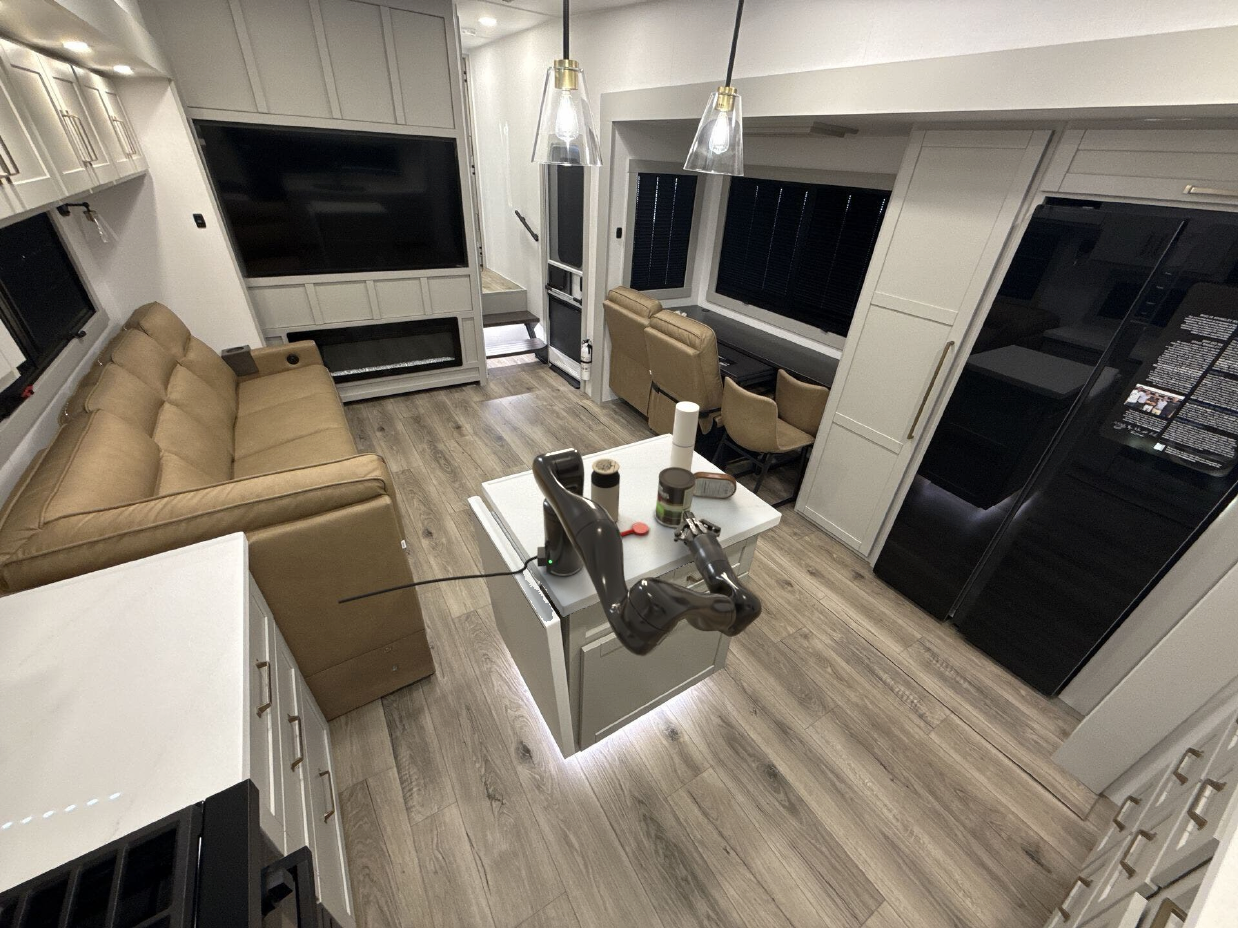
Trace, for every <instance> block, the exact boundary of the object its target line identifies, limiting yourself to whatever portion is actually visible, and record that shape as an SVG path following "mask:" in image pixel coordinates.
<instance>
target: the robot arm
mask: <svg viewBox="0 0 1238 928" xmlns="http://www.w3.org/2000/svg"><path fill="white" fill-rule="evenodd" d="M531 470H532V471H531V472H532V476H533V479H534V481H535V483H536V485H537V487H538V489H539V491H540V493H541V494H542V496H543V497H544V499H543V501H542V515H543V516H542V518H543V528H544V529H543V532H544V546H537V547H536V548H537V551H536V555H534V556H531V557H529V558H528V559H526V560H525V562H524V564H523V567H522V568H521V569H518V570H515V571H503V572H502V571H501V572H493V573H492V572H491V573H483V574H468V575H460V576H459V575H457V576H447V577H442V578H436V579H435V578H433V579H427V580H422V581H416V582H410V583H406V584H401V585H396V586H392V587H388V588H384V589H380V590H376V591H371V592H367V593H363V594H359V595H355V596H351V597H347V598H343V599H339V600H338V601H337V603H338V604H339V605H340V604H344V603H348V602H352V601H357V600H360V599H364V598H368V597H372V596H377V595H381V594H385V593H390V592H394V591H398V590H402V589H407V588H411V587H417V586H422V585H428V584H429V585H430V584H435V583H441V582H442V583H443V582H450V581H460V580H468V579H482V578H493V577H500V576H513V575H517V574H521V573H523V572H524V571H526V570H527V568H528V565H529V563H531V562H532V561H535V560H536V562H537V564H536V565H537V567H545V572H546V574H549V573H550V574H553V575H554V576H558V577H569V576H572V575H574V574H576V573H578V572H579V571H581V569H582V567H583V566H584V568H585V570H586V573H587V575H588V576H589V578H590V580H591V582H592V585H593V587H594V590H595V592H596V594H597V596H598V597H597V598H598V599H599V602H600V604H601V607H602V609H603V612H604V614H605V617H606V619H607V621H608V624H609V625H610V628H611V630H612V632H613V633H614V635H615V637H616V638H617V640H618V641H619V642H620V644H621V645H622V646H623V647H624V648H625V649H626V650H627V651H628V652H630V653H631V654H633V655H635V656H638V657H647V656H650V654H652V653H654V651H656V649H658V647H659V646H660V645H661V644H662V643H663V641H664V640H665V639H666V638H668V636H669V635H670V634H671V633H672V632H673V630H674V629H675V628H676V627H677V625H678V623H679V622H680V620H682V619H683V618H684V619H685V621H686V622H687V623H688V624H689V626H690V627H692V628H693V629H695V630H698V631H701V632H719V633H721V634H723V635H725V636H726V637H728V638H733V637H736V636H738V635H740V634H741V633H743V631H745V630H746V629H747V628H748V627H749V626H751V624H753V623H754V622H755V621H756V620H757V619H758V618H760V616H762V615H761V614H762V612H763V604H762V601H761V599H760V598H759V597H758V595H756V594H755V592H753V591H752V590H751V589H750V588H749V587H748V586H746V585H745V584H744V582H743V581H742V580H741V579H740V578H739V577H738V576H737V574H736V572H735V571H734V569H733V567H732V565H731V563H730V561H729V560H730V559H729V558H728V555H727V553H726V552H725V550H724V549H723V547H722V545H721V543H720V542H719V540H718V538H720V536H721V532H722V527H721V526H718V525H717V524H714V523H713V522H711V521H709V520H707V519H704V518H700V519H698V518H697V517H696V515H695V514H694V512H693V511H691V510H687V511H684V513H683V517H682V518H683V520H684V521H681V523H680V525H679V526H678V527H676V529H675V531H674V533H673V534H674V535H673V542H675V543H678V542H679V541H680V542H682V543H683V545H684V546H685V547H687V550H688V552H689V554H690V556H691V558H692V560H693V563H694V565H695V567H696V569H697V571H698V573H699V574H700V576H701V577H702V580H703V581H704V584H705V585H706V588H707V590H708V592H701V591H697V590H693V589H691V588H688V587H687V586H684V585H680V584H678V583H675V582H672V581H669V580H665V579H663V578H659V577H654V576H644V577H641V578H640V579H638V580H637V581H636V582H635V583H634V584H633V585H632V587H631V588H630V589H629V588H628V585H627V581H626V578H625V558H624V557H625V556H624V554H625V553H624V542H623V536H621V533H620V532H621V531H620V528H619V527H618V525H617V524H616V522H614V521H613V519H612V518H611V516H610V515H609V513H608V512H607V511H606V509H605V508H604V507H602V506H601V505H600V504H598V503H596V502H594V501H592V500H591V498H589V497H586V496H584V489H585V466H584V460H583V457H582V455H581V452H579V450H578V449H577V448H574V447H568V448H563V449H562V448H561V449H558V450H552V451H547V452H544V453H540V454H538V455H536V457H534V459H533V460H532V464H531ZM685 531H686V533H685ZM684 533H685V535H684Z"/></svg>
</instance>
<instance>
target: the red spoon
mask: <svg viewBox="0 0 1238 928" xmlns="http://www.w3.org/2000/svg"><path fill="white" fill-rule="evenodd" d="M648 532H649V526H648V525H647V524H646V523H645V522H636V523H634V524H632V526H631V528H630V529H627V530H624V531H620V533H621V536H622V537H624V536H628V535H630V534H634V535H637V536H645V535H646V534H648Z"/></svg>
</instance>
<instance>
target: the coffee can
mask: <svg viewBox="0 0 1238 928" xmlns="http://www.w3.org/2000/svg"><path fill="white" fill-rule="evenodd" d="M695 481H696V478H695V476H694V472H692V471H691V472H690V471H689V470H686V469H683V468H679V467H670V468H669V467H666V468H664V469H662V470H660V472H659V473H658V485H657V494H656V505H655V514H654V517H655V519H656V521H657V522H658V523H659V524H661V525H663V526H665V527H668V528H678V526H679V525H680V523H681V521H684V520H683V518H682V517H683V513H684V511H687V510H690V511H691V509H692V503H693V497H694V495H693V491H694V484H695Z"/></svg>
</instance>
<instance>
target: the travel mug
mask: <svg viewBox="0 0 1238 928" xmlns="http://www.w3.org/2000/svg"><path fill="white" fill-rule="evenodd" d="M620 467H621V466H620V464H619V462H618V461H617V460H614V459H612V458H599V459H596V460H595V461H593V462H592V464H591V469H592V470H593V471H592V472H591V474H590V500H592V501H594V502H596V503H598V504H600V505H601V506H602V507H604V508H605V509H606V511H607V512H608V513H609V515H610V516H611V518H612V519H613V521H614V522H615V523H616V522H617V521H618V519H619V511H620V509H619V508H620V507H619V506H620V486H621V485H620V484H621V474H620V471H619V470H620Z"/></svg>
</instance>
